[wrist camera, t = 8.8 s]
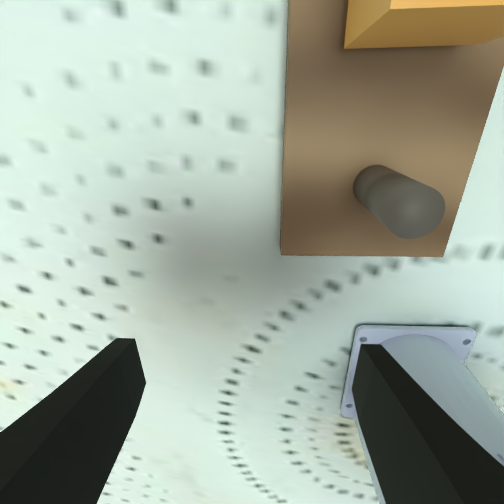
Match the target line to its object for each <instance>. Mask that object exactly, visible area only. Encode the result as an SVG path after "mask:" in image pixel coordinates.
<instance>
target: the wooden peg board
mask: <svg viewBox="0 0 504 504" xmlns="http://www.w3.org/2000/svg"><path fill="white" fill-rule="evenodd" d="M348 1H349V0H288V27H287V56H286V85H285V114H284V143H283V172H282V201H281V230H280V249H281V255H300V256H408V257H443V255H444V252H445V249H446V246H447V243H448V240H449V236H450V233H451V230H452V227H453V224H454V221H455V217H456V214H457V211H458V208H459V205H460V202H461V199H462V195H463V192H464V189H465V186H466V183H467V180H468V177H469V173H470V170H471V167H472V164H473V161H474V158H475V155H476V151H477V148H478V145H479V142H480V139H481V136H482V133H483V129H484V126H485V123H486V120H487V117H488V114H489V111H490V107H491V104H492V101H493V98H494V95H495V92H496V89H497V85H498V82H499V79H500V76H501V73H502V70H503V67H504V36H503V37H500V38H497V39H494V40H492V41H489V42H486V43H483V44H480V45H453V46H421V47H389V48H357V49H344V41H345V31H346V21H347V11H348Z"/></svg>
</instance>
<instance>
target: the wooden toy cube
mask: <svg viewBox="0 0 504 504" xmlns="http://www.w3.org/2000/svg"><path fill="white" fill-rule="evenodd" d="M503 36H504V0H349V1H348V11H347V21H346V31H345V41H344V49H357V48H389V47H421V46H453V45H480V44H483V43H486V42H489V41H492V40H494V39H497V38H500V37H503Z"/></svg>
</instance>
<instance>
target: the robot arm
mask: <svg viewBox="0 0 504 504" xmlns="http://www.w3.org/2000/svg"><path fill="white" fill-rule="evenodd" d="M361 337H364V338H361ZM475 338H476V332H475V331H474V330H473V329H472V328H470V327H433V326H383V325H361V326H359V327H358V328H357V329H356V332H355V337H354V342H353V347H352V353H351V358H350V363H349V368H348V373H347V379H346V384H345V389H344V394H343V400H342V405H341V414H342V416H344V417H352V418H354V419H355V422H356V426H357V429H358V433H359V436H360V440H361V443H362V447H363V450H364V454H365V457H366V460H367V464H368V467H369V471H370V474H371V478H372V481H373V485H374V488H375V492H376V495H377V498H378V500H379V503H380V504H504V414H503V413H502V412H501V410H500V409H499V408H498V406H497V405H496V404H495V403H494V401H493V400H492V399H491V398H490V396H489V395H488V394H487V392H486V391H485V390H484V389H483V387H482V386H481V385H480V384H479V382H478V381H477V380H476V379H475V377H474V376H473V375H472V373H471V372H470V371H469V370H468V368H467V367H466V366H465V365H464V363H465V361H466V358H467V356H468V354H469V351H470V349H471V347H472V344H473V342H474V340H475ZM465 339H466V340H465ZM145 385H146V380H145V377H144V373H143V369H142V365H141V361H140V357H139V353H138V349H137V345H136V341H135V339H130V338H116V339H115V340H114V341H113V342H111V343H110V344H109V345H108V346H106V347H105V348H104V349H103V350H102V351H101V352H99V353H98V354H97V355H96V356H95V357H93V358H92V359H91V360H90V361H89V362H88V363H86V364H85V365H84V366H83V367H82V368H81V369H79V370H78V371H77V372H76V373H75V374H73V375H72V376H71V377H70V378H69V379H67V380H66V381H65V382H64V383H63V384H61V385H60V386H59V387H58V388H57V389H55V390H54V391H53V392H52V393H51V394H49V395H48V396H47V397H45V398H44V399H43V400H42V401H40V402H39V403H38V404H36V405H35V406H34V407H33V408H31V409H30V410H29V411H28V412H26V413H25V414H24V415H22V416H21V417H20V418H19V419H17V420H16V421H15V422H13V423H12V424H11V425H10V426H8V427H7V428H6V429H4V430H3V431H2V432H0V504H97V501H98V499H99V497H100V494H101V492H102V490H103V488H104V486H105V483H106V481H107V479H108V477H109V474H110V472H111V470H112V468H113V466H114V463H115V461H116V459H117V457H118V454H119V452H120V450H121V448H122V446H123V443H124V441H125V439H126V437H127V434H128V432H129V430H130V428H131V425H132V423H133V421H134V418H135V416H136V413H137V410H138V407H139V404H140V401H141V398H142V395H143V391H144V388H145Z"/></svg>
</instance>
